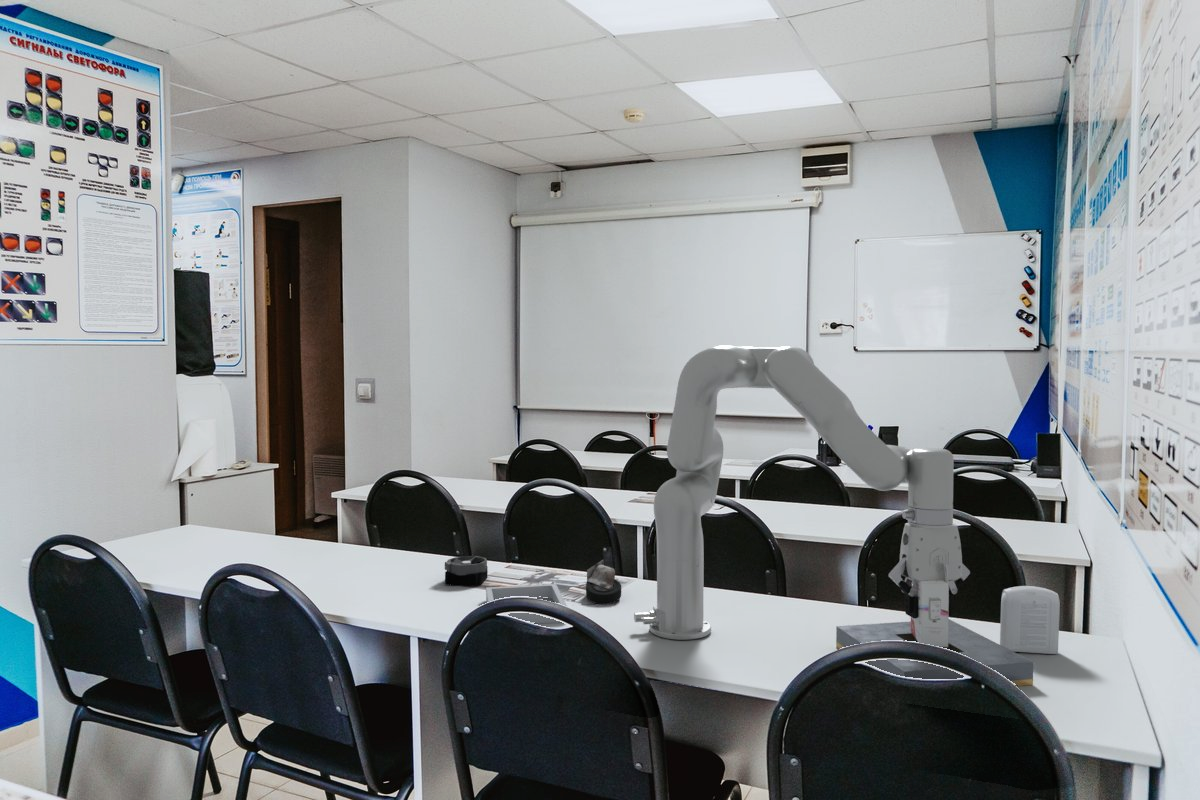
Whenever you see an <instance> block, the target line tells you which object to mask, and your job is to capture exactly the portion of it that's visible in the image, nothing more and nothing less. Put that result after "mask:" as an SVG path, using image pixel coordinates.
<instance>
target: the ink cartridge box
mask: <svg viewBox="0 0 1200 800" xmlns="http://www.w3.org/2000/svg"><path fill="white" fill-rule="evenodd" d="M944 571H945V581H944V580H932V581H920V582H918V589H917V592H916V596H917V597H918V605H919V608H918V618H912V617H910V621H911V632H912V634H913V635H914V637H915V638H916V640H917V641H918V642H919V643H924V644H930V645H934V646H939V647H948V619H949V617H950V616H949V582H948V570H947V565H946V564H945V563H944Z"/></svg>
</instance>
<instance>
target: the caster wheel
mask: <svg viewBox="0 0 1200 800" xmlns="http://www.w3.org/2000/svg"><path fill="white" fill-rule="evenodd" d="M604 564H605V560H604V559H601V560H600V561H599V562H596V564H594V565H593V566H591V567H590V568H588V569H587V570H586V583H585V596H586V598H587V600H589V601H590V602H592V603H593V604H597V605H610V604H614V603H615V602H617V601H619V600H620V599H621V596H622V584H621V582H620V581H619V580H617V579H615V578H616V570H615V568H613V567H610V566H608V565H607V566H606V565H604Z"/></svg>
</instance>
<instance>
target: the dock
mask: <svg viewBox="0 0 1200 800" xmlns="http://www.w3.org/2000/svg"><path fill="white" fill-rule="evenodd" d="M835 631H836V633H835V637H836V638H835V639H836V640H835V641H836V642H835V643H836V644H835V645H836V648H838V649H839V648H842V647H846V646H850V645H854V644H860V643H866V642H871V641H881V640H903V641H905V640H907V641H916V642H918V641H917V640H916V638H915V637H914V635H913V634H912V632H911V620H910V621H900V622H899V621H898V622H897V621H895V622H883V623H880V622H879V623H868V624H865V623H864V624H851V625H836V630H835ZM943 648H947V649H950V650H953V651H956V652H958V653H961V654H963V655H966V656H968V657H970V658H972V659H974V660H976V661H978V662H981V663H982V664H984V665H986V666H988V667H990V668H992V669H993V670H996V671H997V672H999V673H1000V674H1002V675H1003V676H1005V677H1006V678H1007V679H1009V680H1010V681H1012V682H1013V683H1015V684H1016V685H1018V686H1017V687H1023V686H1033V685H1034V661H1033V660H1031V659H1029V658H1028V657H1027V658H1026V657H1025V656H1023V655H1022V654H1019V653H1017V652H1013V651H1011V650H1009V649H1007V648H1005V647H1003V646H1001V645H1000V643H997V642H995V641H993V640H992V639H989V638H987V637H985V636H984V635H982V634H980V633H977V632H976V631H973V630H971V629H969V628H968V627H966V626H964V625H961V624H960V623H957V622H956V621H954V620H952V619H951V618H950V619H949V618H948V647H943ZM865 663H867V664H869V665H872V666H875V667H877V668H879V669H881V670H884V671H887V672H890V673H893V674H896V675H900V676H905V677H913V678H922V679H957V678H963V677H964V676H963V675H960V674H958V673H956V672H954V671H951V670H949V669H947V668H943V667H940V666H936V665H933V664H928V663H924V662H918V661H910V660H898V659H887V660H876V661H868V662H865Z"/></svg>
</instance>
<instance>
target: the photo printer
mask: <svg viewBox="0 0 1200 800" xmlns="http://www.w3.org/2000/svg"><path fill="white" fill-rule="evenodd" d="M1000 600H1001V601H1000V627H999V628H1000V629H999V645H1001V646H1003V647H1005V648H1007V649H1009V650H1011V651H1013V652H1015V653H1017V652H1018V653H1031V654H1043V655H1044V654H1048V655H1049V654H1050V655H1057V654H1058V653H1059V633H1060V607H1061V606H1060V605H1061V604H1060V597H1059V594H1058V593H1057V592H1056V591H1053V590H1051V589H1049V588H1044V587H1040V586H1034V585H1033V586H1031V585H1019V586H1013V587H1008V588H1004V589H1003V590H1002V592H1001V599H1000Z"/></svg>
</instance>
